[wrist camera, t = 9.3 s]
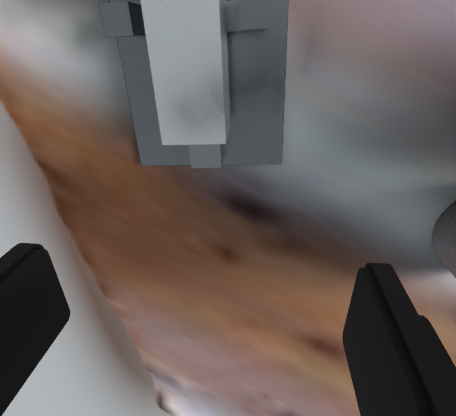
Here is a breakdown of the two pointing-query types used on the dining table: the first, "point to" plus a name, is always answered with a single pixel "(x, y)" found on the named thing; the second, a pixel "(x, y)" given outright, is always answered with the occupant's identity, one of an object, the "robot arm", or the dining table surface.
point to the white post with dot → (189, 69)
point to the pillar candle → (446, 238)
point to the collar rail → (238, 85)
